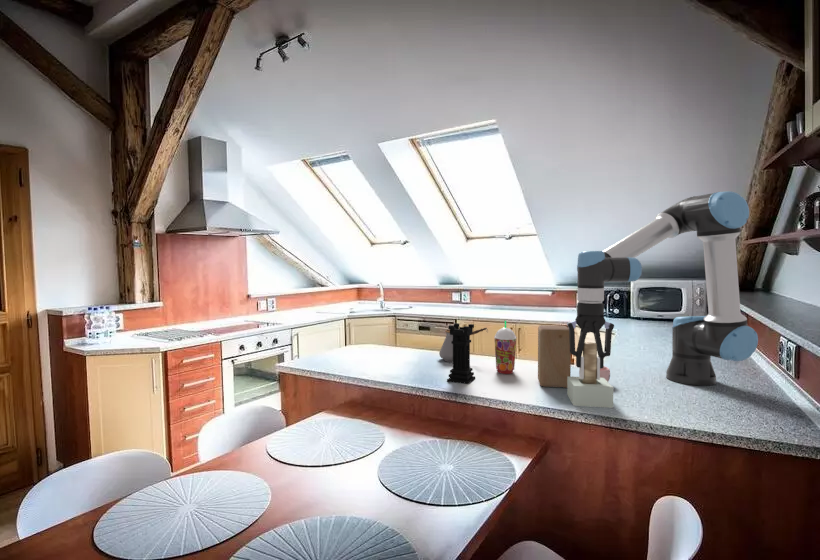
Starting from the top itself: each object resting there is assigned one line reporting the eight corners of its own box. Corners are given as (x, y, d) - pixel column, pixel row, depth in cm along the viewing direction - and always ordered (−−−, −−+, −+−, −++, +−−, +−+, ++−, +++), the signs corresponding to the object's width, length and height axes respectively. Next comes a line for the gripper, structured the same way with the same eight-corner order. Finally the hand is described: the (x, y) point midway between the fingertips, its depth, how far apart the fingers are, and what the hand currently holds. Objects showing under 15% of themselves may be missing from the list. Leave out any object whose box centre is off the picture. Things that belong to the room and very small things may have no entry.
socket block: (603, 396, 142) (603, 377, 141) (613, 407, 131) (613, 387, 131) (567, 394, 144) (567, 376, 143) (573, 405, 133) (573, 385, 132)
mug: (612, 389, 150) (612, 371, 150) (581, 387, 152) (581, 370, 152) (605, 380, 161) (606, 363, 161) (576, 378, 164) (577, 362, 164)
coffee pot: (435, 361, 192) (435, 326, 191) (444, 356, 202) (444, 323, 201) (484, 366, 183) (484, 329, 182) (491, 360, 193) (491, 325, 193)
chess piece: (475, 378, 164) (475, 324, 163) (468, 384, 156) (468, 327, 156) (454, 376, 167) (454, 323, 166) (447, 381, 160) (447, 325, 159)
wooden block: (570, 388, 150) (571, 329, 150) (539, 387, 152) (540, 328, 152) (566, 380, 160) (567, 325, 159) (537, 379, 162) (538, 324, 161)
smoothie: (492, 373, 171) (492, 321, 170) (496, 368, 178) (496, 318, 177) (514, 375, 167) (514, 322, 167) (517, 370, 175) (518, 319, 174)
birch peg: (594, 390, 139) (595, 342, 138) (597, 394, 135) (598, 344, 134) (581, 389, 139) (581, 342, 139) (583, 393, 135) (584, 344, 135)
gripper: (616, 301, 138) (615, 376, 139) (559, 300, 141) (558, 374, 142) (623, 303, 131) (622, 382, 132) (563, 302, 134) (562, 380, 135)
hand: (589, 378), depth 137 cm, fingers closed on birch peg, 4 cm apart
